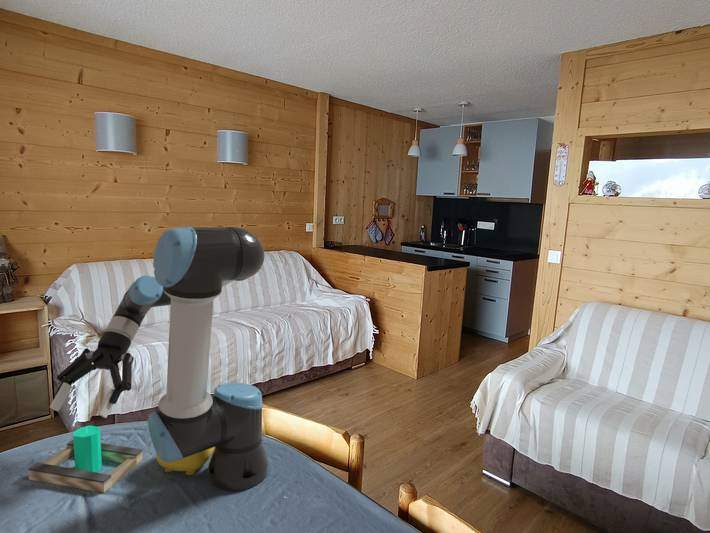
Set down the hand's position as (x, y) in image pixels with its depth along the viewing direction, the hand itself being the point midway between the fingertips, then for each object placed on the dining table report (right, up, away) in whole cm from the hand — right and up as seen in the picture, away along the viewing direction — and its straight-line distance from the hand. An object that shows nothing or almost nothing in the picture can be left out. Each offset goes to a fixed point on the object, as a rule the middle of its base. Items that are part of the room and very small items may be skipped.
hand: (77, 412), depth 109 cm
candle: (0, -16, +4) cm, 17 cm away
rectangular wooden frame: (0, -16, +4) cm, 16 cm away
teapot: (+24, -16, +9) cm, 30 cm away
